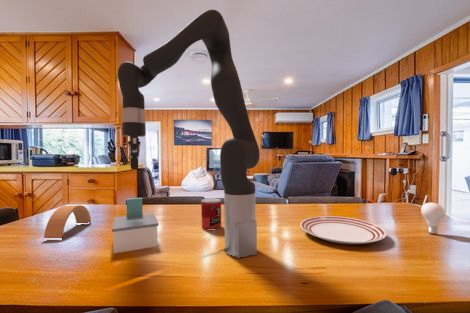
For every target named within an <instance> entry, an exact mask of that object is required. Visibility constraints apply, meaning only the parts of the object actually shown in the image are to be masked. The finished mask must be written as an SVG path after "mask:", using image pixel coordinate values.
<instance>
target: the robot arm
mask: <svg viewBox="0 0 470 313" xmlns="http://www.w3.org/2000/svg"><path fill="white" fill-rule="evenodd" d="M230 38H231V37H230V32H229V28H228V27H227V24H226V21H225V19H224V17H223V15H222V14H221V13H220V12H219V11H218V10H216V9H208V10H205V11H203V12H202V13H200V14H199V15H198V16H196V17H195V18H194V19H193V20H192V21H190V22H189V23H188V24H187V25H186V26H184V28H182V29H181V30H180V31H179V32H177V33H176V34H175V36H173V37H172V38H170V39H169V40H167V41H166V42H165V43H164V44H162V45H161V46H159V47H157V48H155V49H154V50H152V51H150V52H149V53H147V54H145V55H144V56H143V58H142V62H143V65H141V66H138V65H136V64H135V63H133V62H131V61H124V62H122V63H121V64H120V65H119V66H118V70H117V80H118V84H119V88H120V92H121V96H122V112H121V128H122V129H121V135H122V136H123V137H129V138H130V139H129V140H128V141H127V147H128V154H129V158H130V169H131V170H138V169H139V158H140V153H141V141H140V138H139V137H145V136H146V132H147V131H146V113H145V96H144V94H143V93H142V92H141V91H140V88H144V87H147V85H149V84H150V83H152V82H153V80H154V79H155V78H156V77H157V76H158V75H159V74H161V73H163V72H165V71H166V70H168V69H170V68H172V67H173V66H175V65H176V64H177V62H179V61H180V58H182V56H183V54H184V53H185V52H186V51H187V50H188V49H189V47H191V46H192V45H193V44H195V43H197V42H198V41H202V42H203V44H204V46H205V47H206V50H207V52H208V55H209V59H210V64H211V74H210V86H211V91H212V95H213V99H214V102H215V106H216V108H217V109H218V111H219V112H220V114H221V116H222V117H223V118H224V120H225V121H226V122H227V124H228V126H229V127H230V130H231V134H232V138H228V139H226V140H224V142H222V143H223V144H222V145H221V148H220V151H219V152H220V153H219V162H220V176H221V177H220V178H221V183H222V186H223V189H224V190H223V196H224V198H223V199H224V200H223V201H224V203H223V204H224V205H223V206H224V208H223V209H224V210H223V214H224V216H223V217H224V252H225V254H227V255H228V254H229V256H231V255H232V256H231V257H235V256H236V257H235V258H237V259H240V257H242V258H246V257H250V255H251V256H255V255H257V254H258V230H257V229H258V228H257V226H258V224H257V221H256V218H257V217H256V216H257V215H256V184H255V182H253V181H252V180H250V179H249V178H248V176H247V175H248V174H247V170H250V169H254V168H255V167H257V165H258V163H259V161H260V157H261V155H260V147H259V144H258V141H257V138H256V135H255V132H254V130H253V128H252V124H251V121H250V117H249V113H248V111H247V110H248V109H247V105H246V103H245V102H246V101H245V97H244V93H243V89H242V84H241V80H240V77H239V74H238V71H237V68H236V65H235V62H234V60H233V56H232V54H233V53H232V48H231V40H230Z"/></svg>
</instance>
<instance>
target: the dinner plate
mask: <svg viewBox="0 0 470 313" xmlns="http://www.w3.org/2000/svg"><path fill="white" fill-rule="evenodd" d="M299 225H300V227H301V229H302V230H303V231H304V232H306V233H307V234H310V235H312V236H313V237H316V238H317V239H318V238H319V239H321V240H324V241H327V242H330V243H335V244H341V245H362V244H363V245H364V244H370V243H376V242H379V241H382V240H384V239H385V238H386V237H387V235H388V234H387V231H386V229H384V228H382V227H381V226H379V225H378V224H375V223H372V222H370V221H366V220H362V219H357V218H353V217H347V216H333V215H332V216H330V215H325V216H324V215H321V216H314V217H308V218H305V219H303V220H302V221H300V224H299Z"/></svg>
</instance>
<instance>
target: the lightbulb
mask: <svg viewBox="0 0 470 313" xmlns="http://www.w3.org/2000/svg"><path fill="white" fill-rule="evenodd" d="M420 212H421V215H422V216H423V218H424V219H425V221H426V224H427V232H428V233H429V234H431V235H436V234H438V233H439V232H438V229H439V228H438V227H439V224H440V222H441V220H442V219H443V218H444V217H445V215H446V214H445V209H444V207H443V206H442V205H440V204H439V203H436V202H426V203H424V204H423V205H422V206H421V208H420Z"/></svg>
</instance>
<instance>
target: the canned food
mask: <svg viewBox="0 0 470 313" xmlns="http://www.w3.org/2000/svg"><path fill="white" fill-rule="evenodd" d="M200 204H201V205H200V206H201V209H200V210H201V228H202V229H203V228H204V229H203V230H205V229H217V230H219V229H221V228H220V227H222V201H221V199H220V198H214V197H211V198H204V199H201V203H200ZM218 228H219V229H218Z"/></svg>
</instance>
